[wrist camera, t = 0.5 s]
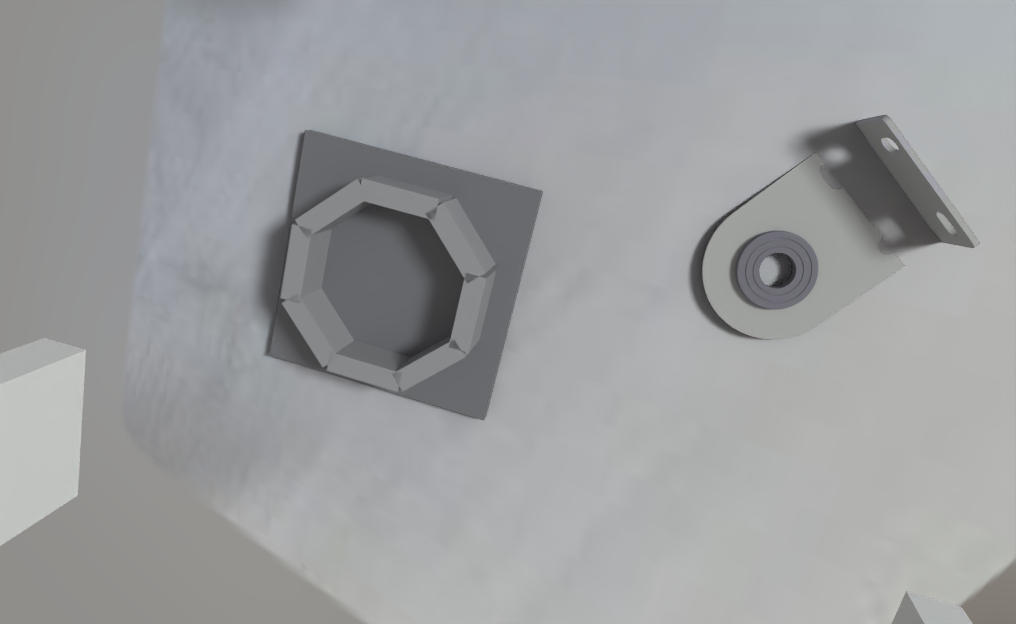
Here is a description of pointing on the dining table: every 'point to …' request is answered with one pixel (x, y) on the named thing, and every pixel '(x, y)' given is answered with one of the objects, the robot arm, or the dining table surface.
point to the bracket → (816, 242)
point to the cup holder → (401, 272)
